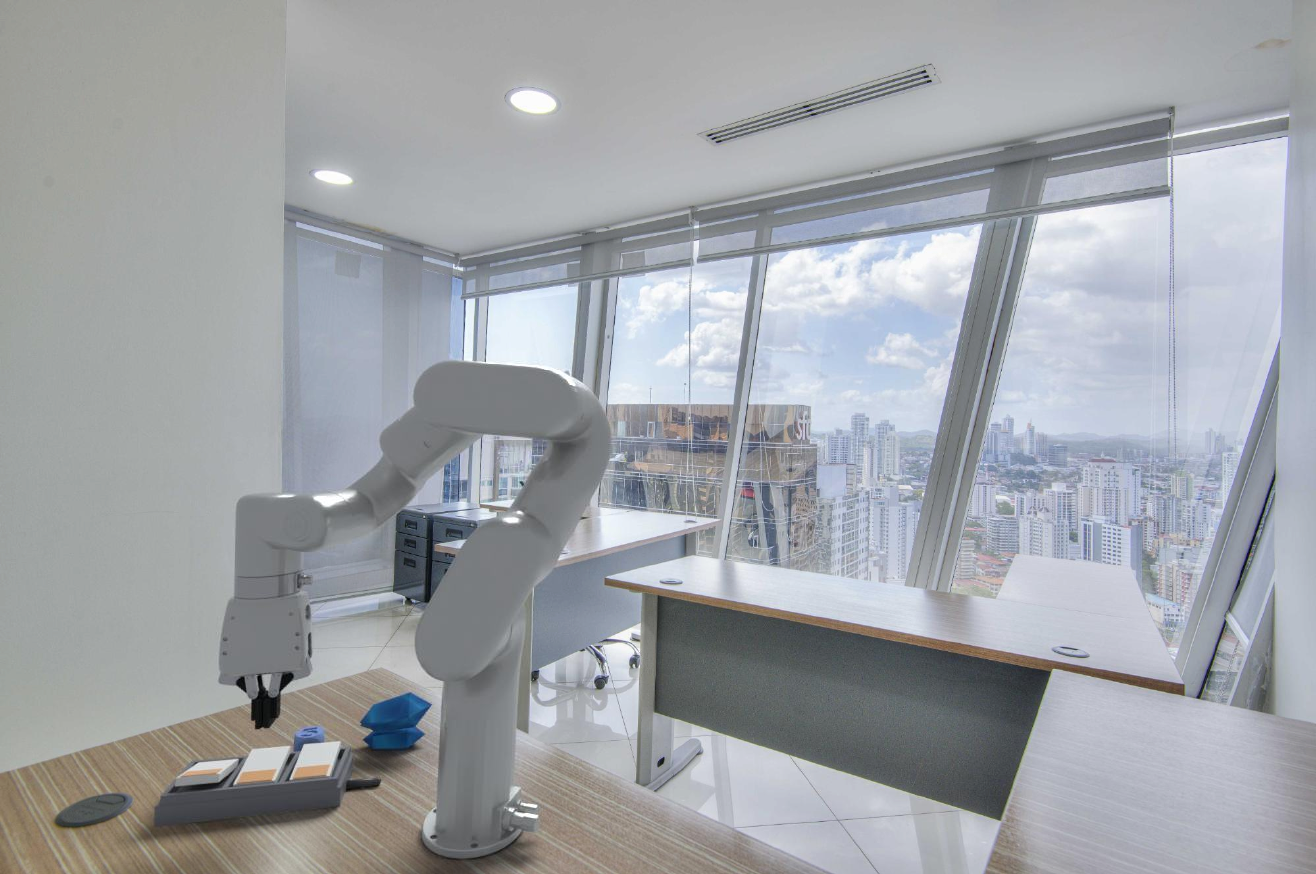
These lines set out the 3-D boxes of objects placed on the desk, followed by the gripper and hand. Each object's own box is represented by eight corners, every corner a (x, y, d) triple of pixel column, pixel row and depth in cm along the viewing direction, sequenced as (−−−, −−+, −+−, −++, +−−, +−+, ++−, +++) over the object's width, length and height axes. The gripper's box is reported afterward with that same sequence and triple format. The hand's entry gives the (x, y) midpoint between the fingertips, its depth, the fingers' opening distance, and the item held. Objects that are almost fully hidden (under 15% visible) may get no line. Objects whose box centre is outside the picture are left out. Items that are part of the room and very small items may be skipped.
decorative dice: (323, 749, 97) (324, 724, 97) (322, 761, 94) (324, 735, 94) (294, 754, 95) (295, 728, 95) (292, 766, 92) (293, 739, 92)
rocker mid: (290, 753, 88) (290, 745, 88) (275, 788, 81) (274, 779, 81) (252, 756, 86) (252, 748, 86) (233, 792, 80) (233, 783, 80)
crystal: (360, 695, 102) (434, 677, 104) (370, 746, 102) (444, 727, 104) (345, 715, 94) (425, 695, 96) (356, 770, 94) (436, 748, 97)
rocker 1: (237, 768, 86) (238, 757, 86) (218, 783, 79) (219, 772, 80) (197, 771, 85) (198, 761, 85) (174, 788, 78) (176, 776, 78)
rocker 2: (340, 748, 90) (340, 740, 89) (329, 783, 83) (329, 775, 83) (304, 751, 88) (303, 743, 88) (289, 787, 82) (289, 779, 82)
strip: (385, 768, 92) (386, 743, 92) (376, 802, 84) (377, 774, 84) (186, 787, 85) (188, 760, 85) (153, 826, 76) (155, 796, 77)
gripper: (336, 577, 88) (334, 707, 87) (214, 583, 83) (211, 719, 83) (323, 588, 80) (321, 730, 80) (189, 595, 76) (186, 745, 76)
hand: (265, 724), depth 81 cm, fingers closed
